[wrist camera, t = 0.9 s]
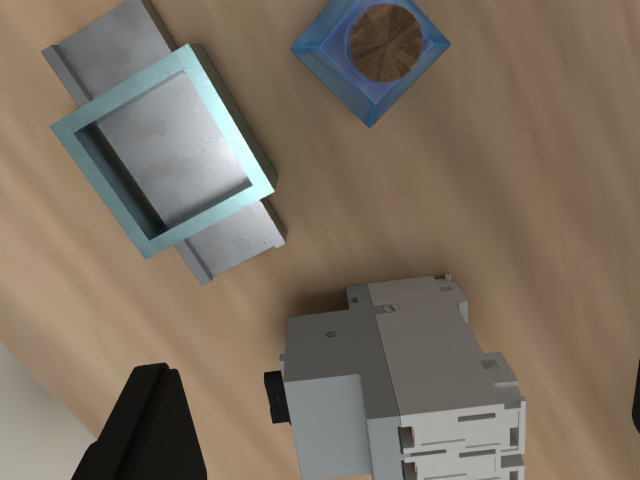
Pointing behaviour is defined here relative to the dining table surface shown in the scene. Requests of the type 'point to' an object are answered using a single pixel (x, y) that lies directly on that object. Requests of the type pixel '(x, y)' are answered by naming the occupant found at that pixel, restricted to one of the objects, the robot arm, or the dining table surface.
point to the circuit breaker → (398, 389)
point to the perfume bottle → (370, 51)
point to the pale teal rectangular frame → (165, 142)
